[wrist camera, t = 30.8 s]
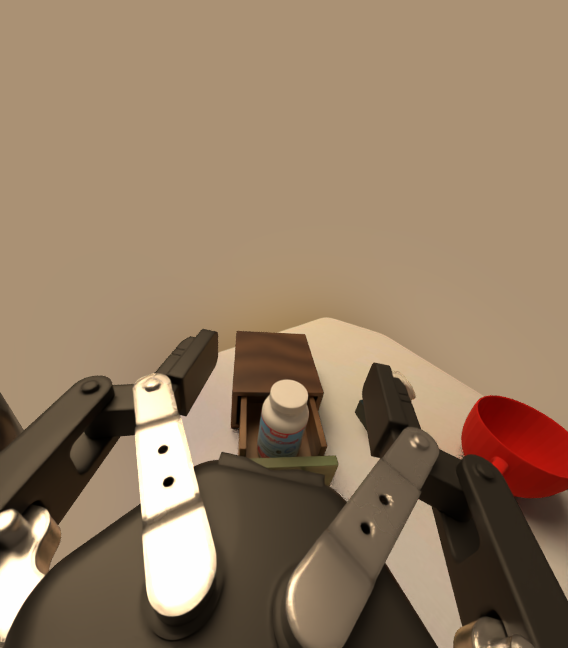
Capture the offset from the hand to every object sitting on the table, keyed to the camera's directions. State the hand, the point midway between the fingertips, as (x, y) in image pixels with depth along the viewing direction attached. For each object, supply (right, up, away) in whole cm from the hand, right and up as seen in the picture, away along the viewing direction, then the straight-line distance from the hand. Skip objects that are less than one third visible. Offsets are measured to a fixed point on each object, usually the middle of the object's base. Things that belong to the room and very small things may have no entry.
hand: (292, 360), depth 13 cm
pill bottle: (-1, -16, +24) cm, 29 cm away
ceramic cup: (+30, -22, +27) cm, 46 cm away
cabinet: (-3, -11, +35) cm, 37 cm away
